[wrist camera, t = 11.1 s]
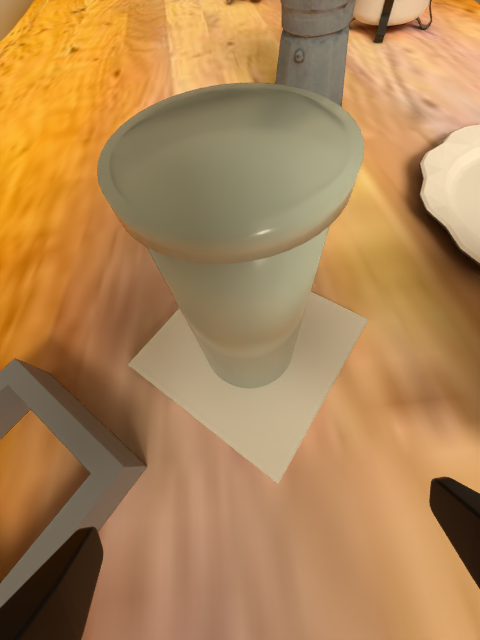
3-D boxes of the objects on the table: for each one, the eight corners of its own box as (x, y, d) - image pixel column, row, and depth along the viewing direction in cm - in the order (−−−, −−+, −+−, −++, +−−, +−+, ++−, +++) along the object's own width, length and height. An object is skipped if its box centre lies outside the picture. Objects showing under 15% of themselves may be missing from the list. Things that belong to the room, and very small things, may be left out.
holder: (147, 466, 16) (124, 467, 13) (-11, 676, 12) (-86, 735, 9) (48, 372, 19) (15, 358, 17) (-98, 513, 16) (-171, 524, 13)
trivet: (363, 325, 19) (368, 319, 18) (277, 482, 15) (278, 484, 14) (231, 259, 23) (230, 251, 22) (133, 369, 19) (127, 364, 18)
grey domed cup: (309, 383, 16) (417, 204, 5) (206, 401, 16) (78, 261, 5) (278, 274, 21) (299, 44, 9) (196, 288, 21) (115, 74, 9)
